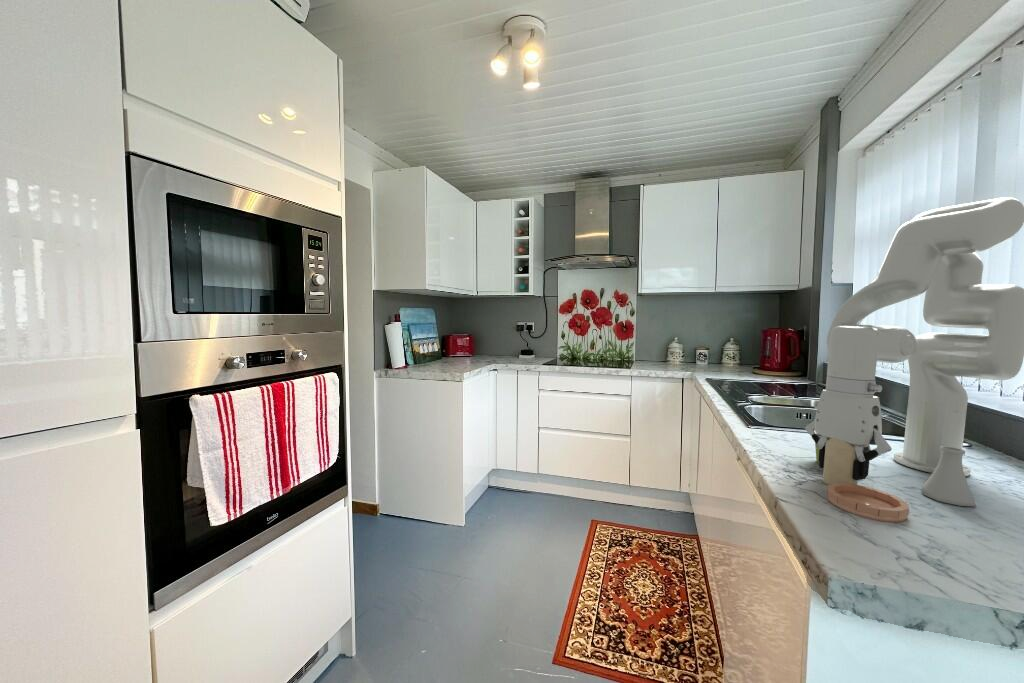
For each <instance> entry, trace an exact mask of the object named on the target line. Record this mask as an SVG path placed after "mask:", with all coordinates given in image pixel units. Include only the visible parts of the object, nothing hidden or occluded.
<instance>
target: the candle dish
mask: <svg viewBox="0 0 1024 683" xmlns="http://www.w3.org/2000/svg"><path fill="white" fill-rule="evenodd" d="M826 498H827V501H828V502H830V504H832V505H833V506H835V507H836V508H839V509H841V510H843V511H845V512H847V513H850V514H852V515H855V516H859V517H861V518H862V517H863V518H866V519H870V520H874V521H880V522H887V523H900V522H901V523H902V522H905V521H907V519H908V516H909V515H910V512H909V511H910V507H909V504H908V502H907V501H905V500H903V499H902V498H900V497H898V496H896V495H894V494H892V493H888V492H885V491H883V490H880V489H877V488H873V487H868V486H863V485H860V484H857V485H856V484H845V483H835V484H829V485H828V484H827V493H826Z"/></svg>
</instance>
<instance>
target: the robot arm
mask: <svg viewBox="0 0 1024 683" xmlns="http://www.w3.org/2000/svg"><path fill="white" fill-rule="evenodd" d="M1023 225H1024V205H1023V203H1022V202H1021V201H1020V200H1019V199H1016V198H1014V197H999V198H998V197H997V198H994V199H993V198H992V199H987V200H981V201H975V202H970V203H962V204H958V205H951V206H945V207H944V206H943V207H940V208H935V209H931V210H928V211H924V212H922V213H920V214H917V215H916V216H915V217H913V218H912V219H911V220H910V221H907V222H905V223H903V224H902V225H901V226H900V227H898V229H897V231H895V234H894V236H893V239H892V241H891V243H890V246H889V248H888V250H887V253H886V255H885V257H884V260H883V262H882V265H881V266H880V269H879V272H878V274H877V275H876V276H877V277H876V278H875V279H874V280H873V281H871V282H870V283H868V284H866V285H865V286H864V287H862V288H861V289H859V290H858V291H857V292H855V293H854V294H853V295H851V296H850V297H849V298H848V299H847V300H845V302H843V304H841V305H840V307H839V308H838V310H837V311H836V313H835V315H834V318H833V321H832V322H831V324H830V327H829V329H828V332H827V336H826V347H827V350H828V360H827V369H826V370H827V371H826V375H827V376H826V381H825V382H826V383H825V389H822V390H821V394H820V396H819V400H818V402H817V407H816V411H815V418H814V420H812V421H811V422H810V423H808V424H807V425H806V426H805V427H804V429H805V431H806V432H807V433H808V435H810V436H811V439H812V441H814V444H815V443H816V444H817V448H818V449H819V463H818V467H819V468H820V469H822V470H824V458H825V446H826V441H827V440H828V439H831V438H836V439H838V440H841V441H844V442H847V443H849V444H852V445H854V447H855V451H856V454H857V460H854V466H853V477H852V478H853V479H854V480H858V481H863V480H866V479H867V477H868V476H869V470H870V461H872V460H874V459H876V458H877V457H880V456H881V455H885V454H887V453H888V452H891V451H892V450H893V448H892V447H891V445H890V444H889V443H888V442H887V440H886V439H885V438H884V437H883V434H882V433H883V424H882V423H883V421H882V420H883V418H882V408H881V403H880V402H881V401H880V397H879V396H876V395H874V394H875V393H881V392H882V391H883V386H882V385H880V384H877V383H876V382H877V381H876V375H877V373H876V372H877V363H888V364H896V363H897V364H898V363H902V362H904V361H907V360H908V370H909V387H908V388H909V389H908V400H907V410H906V420H905V429H904V430H905V431H904V441H903V450H902V452H896V453H894V454H893V460H894V461H895V462H897V463H898V464H901V465H902V466H905V467H908V468H911V469H914V470H918V471H922V472H926V473H931V474H932V473H933V472H934V470H935V469H936V467H937V466H938V464H939V461H940V458H941V454H942V450H941V449H940V446H949V447H956V448H959V449H962V450H963V446H964V436H965V428H966V421H967V420H966V418H967V409H968V401H969V395H968V393H967V391H966V389H965V388H964V386H963V384H961V382H960V380H958V379H957V377H964V378H971V379H972V378H973V379H980V380H992V381H1007V380H1011V379H1014V378H1015V377H1016V376H1017V375H1018V374H1019V372H1020V371H1021V368H1022V367H1023V366H1022V365H1023V364H1024V288H1023V287H1021V286H1019V285H1015V284H1006V283H1003V284H982V280H983V273H984V272H983V271H984V262H983V261H982V259H981V258H980V257H979V255H978V254H977V253H979V252H982V251H986V250H988V249H991V248H993V247H996V246H997V245H999V244H1001V243H1004V242H1006V241H1008V240H1009V239H1011V238H1012V237H1014V236H1016V234H1018V233H1019V232H1020V231H1021V229H1022V228H1023ZM924 293H925V294H924ZM921 294H924V300H923V306H922V307H923V308H922V316H923V320H924V322H926V323H927V324H928V325H931V326H935V327H939V328H940V327H941V328H955V329H960V328H961V329H984V330H985V329H986V330H988V334H975V333H973V334H972V333H971V334H970V333H953V332H951V333H950V332H927V333H921V334H920V335H917V336H915V335H914V334H913V333H912V332H911V331H910V330H908V329H906V328H905V327H902V326H893V325H891V326H890V325H876V324H875V325H874V324H861V323H862V322H863V320H865V319H866V318H867V317H868V316H869V315H871V314H873V313H874V312H876V311H878V310H881V309H883V308H885V307H888V306H891V305H894V304H897V303H900V302H905V301H906V300H910V299H913V298H915V297H918V296H919V295H920V296H921ZM870 445H871V446H876V447H875V448H873V449H871V446H870ZM965 455H966V453H965V454H963V455H962V457H964V456H965ZM962 466H963V472H964V475H965V477H969V476H970V475H971V469H970V468H969V467H968V466H966V465H965V464H962Z"/></svg>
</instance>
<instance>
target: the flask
mask: <svg viewBox="0 0 1024 683" xmlns="http://www.w3.org/2000/svg"><path fill="white" fill-rule="evenodd" d="M940 449H941V450H942V454H941V458H940V461H939V464H938V466H937V467H936V469H935V470H934V472H933V473H931V475H930V476H929V477H928V479H927V480H926V481H925V483H924V484H923V486H922V487H921V488H920V491H921V493H922V494H923V495H924V496H926V497H928V498H931V499H933V500H936V501H937V502H940V503H944V504H945V503H946V504H949V505H956V506H960V507H977V504H976V501H975V499H974V496H973V494H972V492H971V489H970V487H969V482H968V481H967V478H966V477H967V476H965V475H964V472H963V466H962V465H963V462H962V461H963V456H962V455H963V454H965V455H966V450H964V449H963V448H962V449H959V448H956V447H949V446H940Z"/></svg>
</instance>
